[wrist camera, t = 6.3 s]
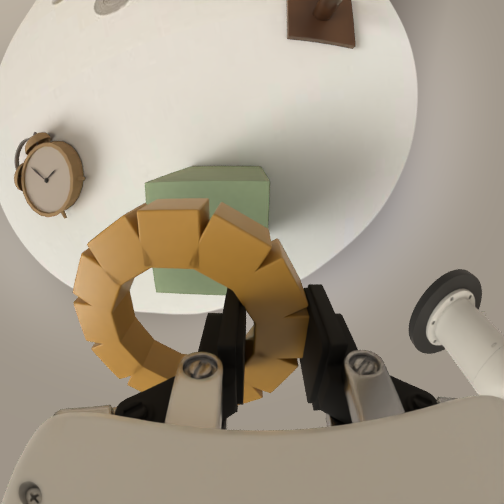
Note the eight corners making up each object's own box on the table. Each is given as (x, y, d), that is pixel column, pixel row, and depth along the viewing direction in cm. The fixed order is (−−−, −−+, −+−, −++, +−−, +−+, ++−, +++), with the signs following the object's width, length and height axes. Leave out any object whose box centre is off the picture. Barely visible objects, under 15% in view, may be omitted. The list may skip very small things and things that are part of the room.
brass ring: (310, 200, 10) (323, 212, 8) (289, 382, 13) (292, 411, 12) (80, 202, 10) (52, 214, 8) (121, 369, 13) (108, 393, 12)
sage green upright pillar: (261, 166, 33) (269, 181, 18) (259, 234, 37) (265, 296, 22) (190, 166, 33) (144, 182, 18) (192, 233, 36) (155, 292, 22)
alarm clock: (57, 232, 33) (-2, 183, 27) (70, 220, 37) (14, 175, 31) (87, 169, 30) (21, 119, 24) (100, 162, 34) (38, 117, 28)
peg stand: (348, 1, 23) (374, -31, 14) (352, 48, 27) (384, 22, 17) (286, -9, 23) (296, -48, 14) (287, 39, 27) (299, 4, 17)
